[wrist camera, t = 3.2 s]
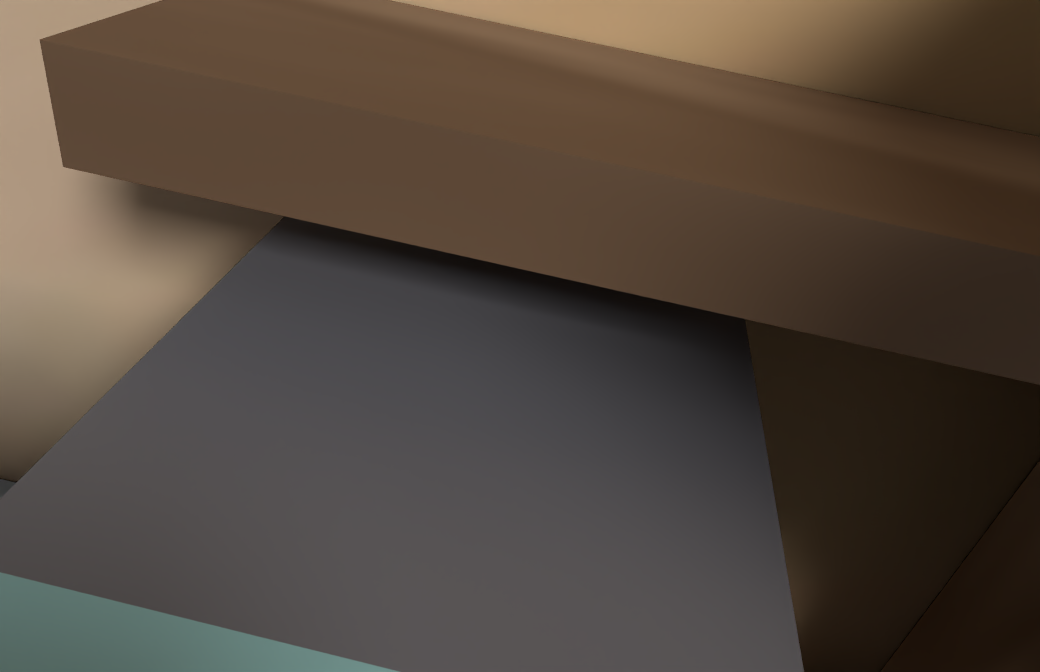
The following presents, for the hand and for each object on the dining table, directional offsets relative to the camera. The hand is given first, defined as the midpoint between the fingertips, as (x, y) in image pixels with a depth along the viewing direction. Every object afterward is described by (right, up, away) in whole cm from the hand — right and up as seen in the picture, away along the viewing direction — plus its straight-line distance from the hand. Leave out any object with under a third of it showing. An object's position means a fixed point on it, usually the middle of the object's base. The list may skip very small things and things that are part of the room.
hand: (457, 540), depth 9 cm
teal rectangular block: (0, +1, +1) cm, 1 cm away
